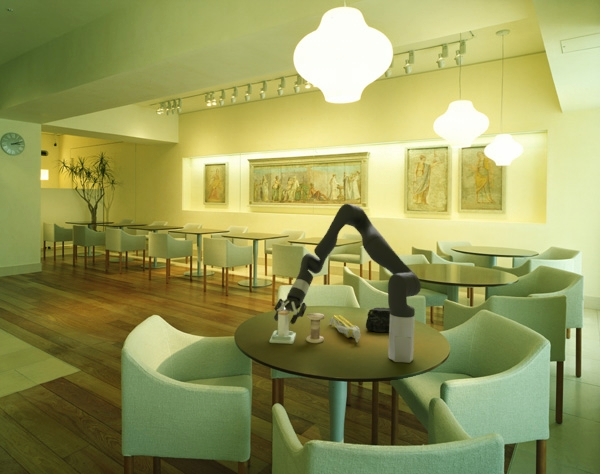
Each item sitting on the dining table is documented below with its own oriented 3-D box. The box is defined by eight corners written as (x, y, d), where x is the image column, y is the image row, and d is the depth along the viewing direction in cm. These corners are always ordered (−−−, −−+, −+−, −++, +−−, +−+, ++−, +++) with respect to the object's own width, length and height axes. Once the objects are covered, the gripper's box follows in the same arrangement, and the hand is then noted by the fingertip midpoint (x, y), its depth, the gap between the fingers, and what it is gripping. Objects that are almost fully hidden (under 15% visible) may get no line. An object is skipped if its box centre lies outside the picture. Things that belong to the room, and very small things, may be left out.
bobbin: (323, 343, 177) (324, 318, 176) (305, 342, 178) (306, 317, 177) (324, 337, 185) (324, 313, 184) (306, 337, 185) (307, 312, 185)
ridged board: (292, 343, 176) (293, 338, 176) (269, 342, 177) (269, 337, 177) (295, 335, 188) (295, 330, 188) (273, 334, 189) (273, 329, 189)
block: (289, 336, 183) (289, 311, 182) (284, 338, 180) (284, 313, 179) (282, 334, 185) (282, 310, 184) (277, 336, 182) (277, 311, 181)
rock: (370, 324, 209) (364, 331, 195) (370, 305, 209) (365, 311, 195) (406, 327, 204) (403, 335, 190) (406, 308, 203) (404, 314, 189)
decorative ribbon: (343, 314, 207) (367, 331, 178) (341, 326, 207) (365, 345, 178) (328, 312, 205) (350, 329, 176) (326, 324, 205) (348, 343, 176)
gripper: (282, 284, 192) (266, 314, 184) (308, 288, 185) (293, 319, 176) (288, 294, 197) (273, 323, 188) (314, 298, 190) (300, 329, 181)
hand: (283, 321), depth 182 cm, fingers open, 8 cm apart
